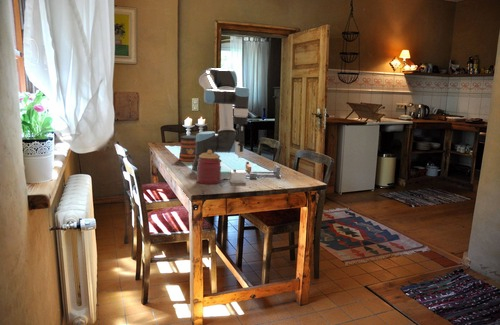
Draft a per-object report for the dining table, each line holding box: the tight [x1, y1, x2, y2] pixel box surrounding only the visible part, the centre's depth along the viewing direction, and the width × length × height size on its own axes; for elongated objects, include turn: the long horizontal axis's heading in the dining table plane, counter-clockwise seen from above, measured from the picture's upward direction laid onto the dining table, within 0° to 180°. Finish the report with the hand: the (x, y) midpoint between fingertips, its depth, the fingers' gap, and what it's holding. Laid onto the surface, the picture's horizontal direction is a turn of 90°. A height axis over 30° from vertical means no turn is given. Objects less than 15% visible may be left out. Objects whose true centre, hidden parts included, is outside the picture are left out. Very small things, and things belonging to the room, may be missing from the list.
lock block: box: [229, 169, 247, 184], centre depth 212 cm, size 8×6×7 cm
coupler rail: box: [246, 164, 281, 180], centre depth 230 cm, size 22×16×6 cm
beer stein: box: [178, 134, 197, 163], centre depth 267 cm, size 19×15×20 cm
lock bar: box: [245, 161, 252, 172], centre depth 240 cm, size 2×12×4 cm, turn 9°
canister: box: [196, 150, 222, 185], centre depth 208 cm, size 13×13×18 cm
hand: (239, 155), depth 210 cm, fingers open, 13 cm apart
